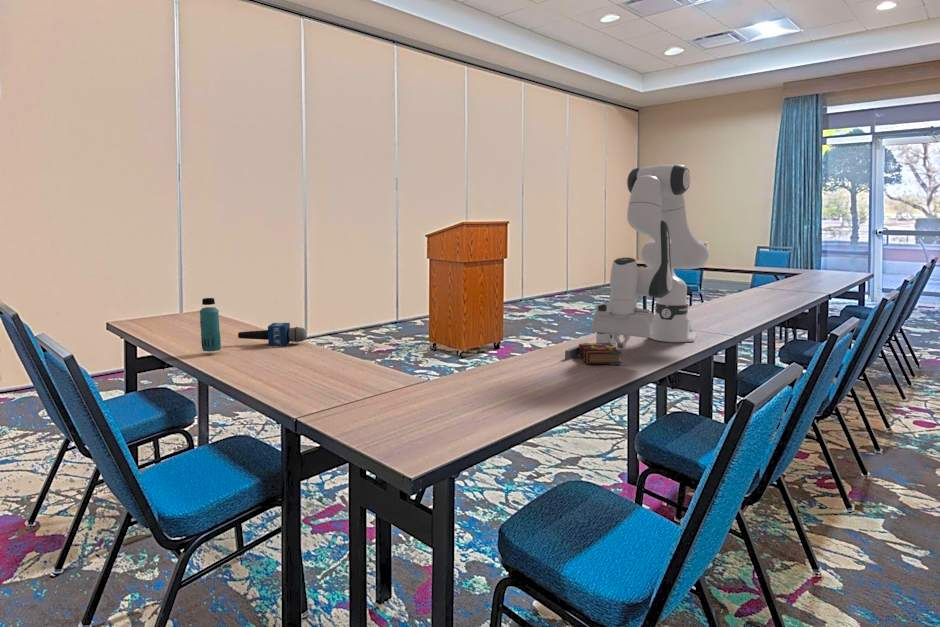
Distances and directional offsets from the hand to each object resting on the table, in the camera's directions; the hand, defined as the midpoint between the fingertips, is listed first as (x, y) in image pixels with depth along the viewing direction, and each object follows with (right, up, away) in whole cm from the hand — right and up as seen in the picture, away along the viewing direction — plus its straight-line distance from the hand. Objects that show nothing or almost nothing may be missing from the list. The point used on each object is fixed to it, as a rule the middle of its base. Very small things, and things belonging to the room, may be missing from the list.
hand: (621, 347), depth 211 cm
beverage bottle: (-143, -3, +12) cm, 143 cm away
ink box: (-1, -2, +21) cm, 21 cm away
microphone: (-126, -1, +28) cm, 129 cm away
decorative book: (-7, -5, +3) cm, 9 cm away
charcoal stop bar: (-13, -3, +10) cm, 17 cm away
